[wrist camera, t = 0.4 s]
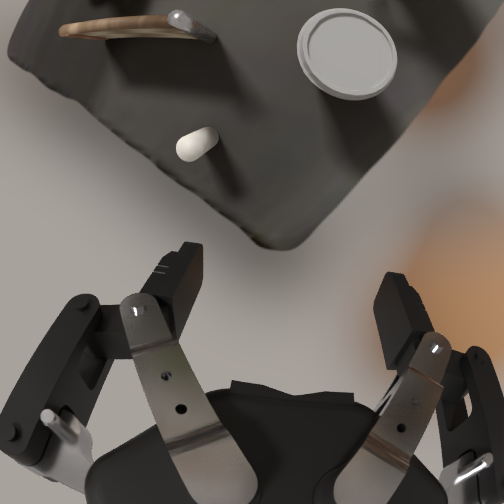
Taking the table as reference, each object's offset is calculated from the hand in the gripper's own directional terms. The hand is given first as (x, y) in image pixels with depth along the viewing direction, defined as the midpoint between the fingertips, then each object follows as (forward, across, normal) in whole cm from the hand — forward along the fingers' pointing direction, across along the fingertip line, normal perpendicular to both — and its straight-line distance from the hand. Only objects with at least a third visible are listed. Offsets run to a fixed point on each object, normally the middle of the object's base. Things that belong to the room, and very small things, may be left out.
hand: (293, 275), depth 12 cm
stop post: (+28, +11, 0) cm, 30 cm away
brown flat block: (+27, +21, -15) cm, 38 cm away
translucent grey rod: (+28, +12, -14) cm, 34 cm away
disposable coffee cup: (+28, -4, -12) cm, 31 cm away
